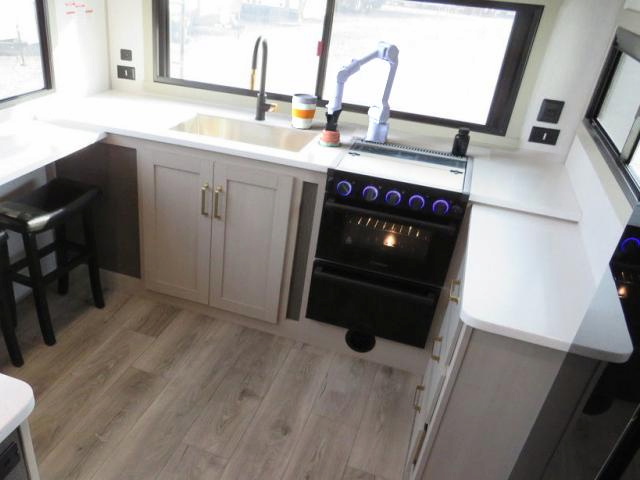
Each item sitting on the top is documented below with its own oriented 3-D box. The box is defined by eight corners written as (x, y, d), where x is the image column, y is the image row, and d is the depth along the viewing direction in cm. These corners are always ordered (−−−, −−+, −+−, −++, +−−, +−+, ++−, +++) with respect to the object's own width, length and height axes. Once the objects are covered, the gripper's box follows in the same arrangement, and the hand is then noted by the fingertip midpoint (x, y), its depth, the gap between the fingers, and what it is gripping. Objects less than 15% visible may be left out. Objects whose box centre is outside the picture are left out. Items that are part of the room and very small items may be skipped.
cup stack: (341, 142, 276) (343, 129, 272) (336, 148, 268) (338, 134, 265) (322, 139, 278) (324, 126, 275) (317, 144, 271) (319, 131, 268)
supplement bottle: (465, 153, 272) (472, 127, 265) (465, 157, 266) (472, 131, 260) (450, 151, 274) (457, 125, 267) (450, 155, 268) (456, 129, 262)
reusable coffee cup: (300, 122, 303) (303, 92, 295) (318, 127, 295) (322, 97, 288) (284, 125, 295) (287, 94, 287) (303, 130, 287) (307, 99, 280)
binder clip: (337, 130, 270) (338, 123, 269) (335, 131, 268) (336, 124, 266) (326, 128, 272) (327, 121, 270) (325, 130, 270) (326, 123, 268)
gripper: (331, 92, 268) (327, 121, 276) (323, 98, 257) (319, 128, 264) (346, 94, 266) (341, 123, 274) (338, 100, 255) (334, 131, 262)
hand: (331, 126), depth 269 cm, fingers open, 7 cm apart
